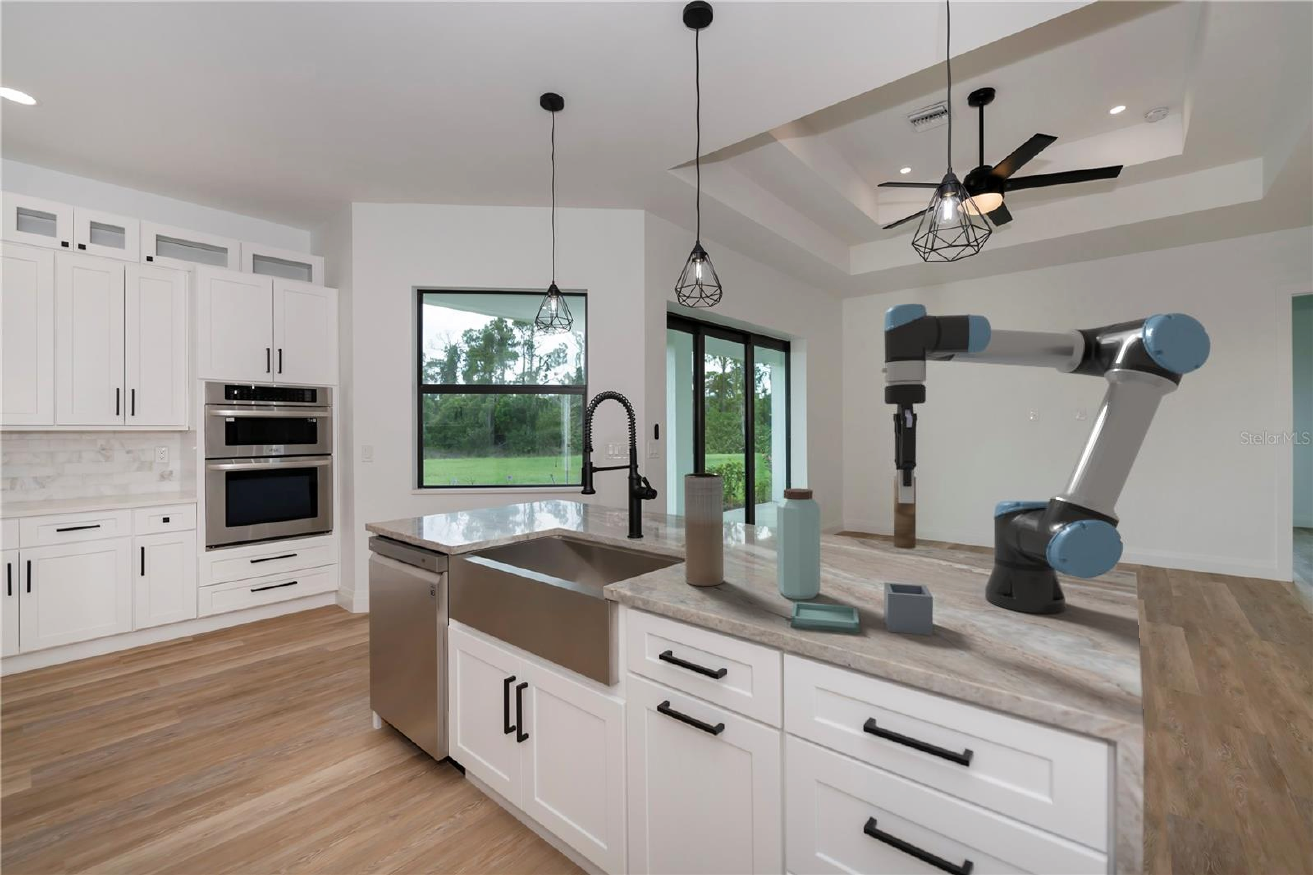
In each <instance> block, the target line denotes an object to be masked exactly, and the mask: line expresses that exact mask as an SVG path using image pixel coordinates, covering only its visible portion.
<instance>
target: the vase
mask: <svg viewBox="0 0 1313 875" xmlns="http://www.w3.org/2000/svg"><path fill="white" fill-rule="evenodd" d="M683 478H684V480H683V482H684V483H683V484H684V562H685V564H684V565H685V567H684V570H685V572H684V573H685V574H684V575H685V582H686V583H687V584H689V585H692V586H697V587H714V586H718V585H721V584H723V583H724V572H725V571H724V565H725V564H724V475H723V474H721V473H716V472H715V473H714V472H695V473H693V472H692V473H687V474H684V477H683Z"/></svg>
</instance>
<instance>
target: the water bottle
mask: <svg viewBox="0 0 1313 875" xmlns="http://www.w3.org/2000/svg"><path fill="white" fill-rule="evenodd" d="M813 493H814V492H813V489H809V488H798V487H797V488H796V487H795V488H786V489H784V490H783V496H782V499H781V500H780V501H779V502H778V504H777V505H776V581H777V584H776V587H777V590H778V591H779V593H780V594H781V595H783V596H784V597H785V598H789V599H795V600H800V601H801V600H811V599H814V598H815V597H816V596H817V595H818V594H819V593H820V591H821V505H820V504H818V503H817V502H816V500H815V499H814V498H813Z"/></svg>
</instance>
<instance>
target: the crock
mask: <svg viewBox="0 0 1313 875" xmlns="http://www.w3.org/2000/svg"><path fill="white" fill-rule="evenodd" d="M933 599H934V597H933V594H932V593H931V592H930V590H929V588H928V586H927V585H926V584H916V583H902V582H901V583H899V582H886V581H885V582H883V619H884V622H885V625H886V629H887V632H890V633H891V632H893V633H902V634H903V633H905V634H915V635H924V636H925V635H926V636H933V635H934V634H933V631H934V630H933V629H934V626H933V622H934V621H933V620H934V617H933V613H934V611H933V610H934V608H933V607H934V606H933V605H934V604H933V602H934V600H933Z"/></svg>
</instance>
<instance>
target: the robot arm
mask: <svg viewBox="0 0 1313 875" xmlns="http://www.w3.org/2000/svg"><path fill="white" fill-rule="evenodd" d="M884 317H885V318H884V325H883V326H884V328H883V333H884V367H882V368H881V372H882V374H883V373H884V374H885V375H884V383H886V384H887V385H885V387H884V403H885V404H887V405H896V413H893V414H892V415H893V416H892V417H893V418H892V420H893V422H894V429H893V430H894V431H893V432H894V464H895V466H896V467H895V476H899V503H914V477H915V469H916V467H917V458H916V457H917V421H918V413H917V412H916V413H914V412H915V410H914V405H915V404H916V405H918V404H919V405H920V404H924V403H926V401H927V393H926V391H927V390H926V388H927V387H926V386H925V384H924V383H925V382H926V381H927V361H933V362H953V363H970V364H971V363H972V364H987V365H988V364H989V365H1004V366H1019V367H1021V366H1022V367H1037V368H1053V369H1055V370H1056V371H1057V372H1059V373H1061V374H1071V375H1072V374H1073V375H1074V374H1075V375H1082V376H1093V377H1100V378H1105V379H1106V381H1107V382H1108V387H1107V389H1106V392H1105V394H1104V397H1102V398H1103V399H1102V401H1101V403H1100V406H1099V408H1098V410H1097V412H1096V415H1095V417H1094V419H1093V421H1092V424H1091V427H1090V429H1089V432H1088V433H1087V436H1086V437H1085V441H1084V442H1083V446H1082V447H1081V450H1080V452H1079V454H1078V457H1077V459H1076V461H1075V464H1074V466H1073V468H1072V470H1071V472H1070V474H1069V478H1068V480H1067V482H1066V484H1065V487H1064V489H1063V491H1062V492H1061V493H1058V494H1056V495H1053V496H1051V497H1050V499H1049V500H1048V501H1047V500H1046V501H1045V500H1044V501H1043V500H1040V501H1039V500H1020V501H1019V500H1008V501H1006V500H1005V501H999V502H998V503H996V505H995V508H994V515H993V520H994V555H993V556H994V558H993V559H994V561H993V563H994V565H993V568H992V570H991V573H990V576H989V577H988V581H987V583H986V585H985V588H984V590H985V592H984V593H985V595H984V596H985V597H984V598H985V600H987V601H988V602H990V603H991V604H993V605H994V606H995V605H996V606H999V607H1000V608H1005V609H1008V610H1011V611H1012V610H1013V611H1018V612H1024V613H1033V614H1057V613H1061V612H1064V611H1065V610H1066V597H1065V593H1064V592H1063V588H1062V584H1061V582H1060V580H1059V578H1058V575H1057V572H1058V573H1061V574H1063V575H1066V576H1071V577H1076V578H1080V579H1081V578H1082V579H1092V578H1096V577H1100V576H1103V575H1105V574H1107V573H1108V572H1110V571H1111V570H1112V569H1113V568H1115V567H1116V566H1117V564H1118V563H1119V562H1120V560H1121V557H1122V554H1123V550H1124V543H1123V542H1122V540H1121V539H1122V537H1121V534H1120V532H1119V530H1118V529H1117V527H1118V525H1119V522H1120V518H1119V517H1118V515H1117V513H1116V512H1115V507H1116V506H1117V503H1118V500H1119V497H1120V495H1121V493H1122V491H1123V488H1124V487H1125V484H1126V483H1127V482H1126V481H1127V479H1128V477H1129V475H1130V473H1131V470H1132V468H1133V466H1134V463H1135V461H1136V459H1137V456H1138V455H1139V451H1140V450H1141V447H1142V445H1143V443H1144V441H1145V438H1146V436H1147V433H1148V431H1149V429H1150V426H1151V424H1152V422H1153V420H1154V417H1155V415H1156V414H1157V410H1158V408H1159V406H1160V403H1161V401H1162V400H1163V398H1164V396H1166V395H1169V394H1171V393H1174V392H1176V391H1177V390H1178V388H1179V385H1180V383H1181V381H1182V379H1183V376H1184V375H1187V374H1190V373H1192V372H1194V371H1196V370H1198V369H1200V368H1201V367H1202V366H1203V365H1205V363H1206V362H1207V360H1208V359H1209V357H1210V356H1209V355H1210V352H1211V341H1210V340H1211V339H1210V336H1209V334H1208V333H1207V332H1206V328H1205V327H1204V326H1203V324H1202V323H1201V322H1200V321H1199V320H1197V319H1196V318H1194V317H1193V316H1191V315H1188V314H1185V313H1179V312H1170V313H1164V314H1163V313H1158V314H1154V315H1151V316H1149V317H1144V318H1140V319H1134V320H1130V321H1129V320H1128V321H1124V322H1119V323H1113V324H1110V325H1104V326H1099V327H1094V328H1086V329H1084V328H1083V329H1076V328H1073V329H1072V328H1070V329H1066V330H1064V331H1062V332H1061V333H1059V332H1046V331H1044V332H1043V331H1028V330H1026V331H1025V330H1009V329H992V327H991V326H992V325H991V323H990V321H989V319H988V318H987V317H986V316H984V315H976V314H957V315H929V314H928V313H927V308H926V306H925V305H924V304H919V303H904V304H898V305H893V306H891V307H889V308H888V309H887V310H886V311H885V316H884Z"/></svg>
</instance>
